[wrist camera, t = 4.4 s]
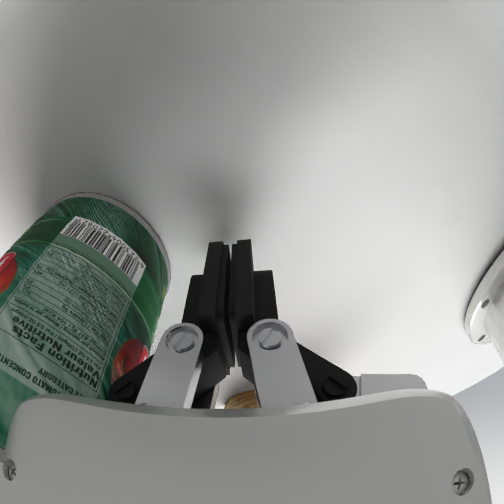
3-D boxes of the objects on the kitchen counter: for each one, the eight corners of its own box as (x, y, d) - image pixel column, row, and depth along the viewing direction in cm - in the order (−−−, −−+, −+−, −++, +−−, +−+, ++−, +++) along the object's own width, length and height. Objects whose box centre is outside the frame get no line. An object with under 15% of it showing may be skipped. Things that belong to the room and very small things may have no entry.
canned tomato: (165, 327, 16) (131, 510, 7) (52, 294, 15) (-16, 443, 6) (182, 210, 12) (94, 508, 3) (35, 179, 10) (-116, 349, 1)
